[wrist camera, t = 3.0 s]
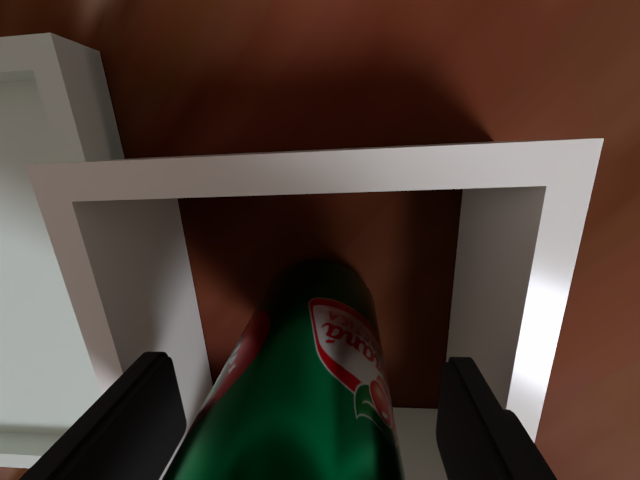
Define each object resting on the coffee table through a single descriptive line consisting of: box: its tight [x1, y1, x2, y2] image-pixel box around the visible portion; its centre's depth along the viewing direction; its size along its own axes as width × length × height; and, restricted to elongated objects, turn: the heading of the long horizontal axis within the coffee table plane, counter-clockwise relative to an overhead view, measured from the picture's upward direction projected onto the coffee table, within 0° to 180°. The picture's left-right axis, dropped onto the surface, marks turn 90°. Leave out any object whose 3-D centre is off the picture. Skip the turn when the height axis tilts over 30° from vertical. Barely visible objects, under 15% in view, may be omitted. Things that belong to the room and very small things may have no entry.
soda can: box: [162, 260, 405, 480], centre depth 8 cm, size 5×5×12 cm
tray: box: [0, 33, 125, 468], centre depth 14 cm, size 20×13×2 cm, turn 3°
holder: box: [25, 138, 604, 480], centre depth 12 cm, size 14×14×5 cm
